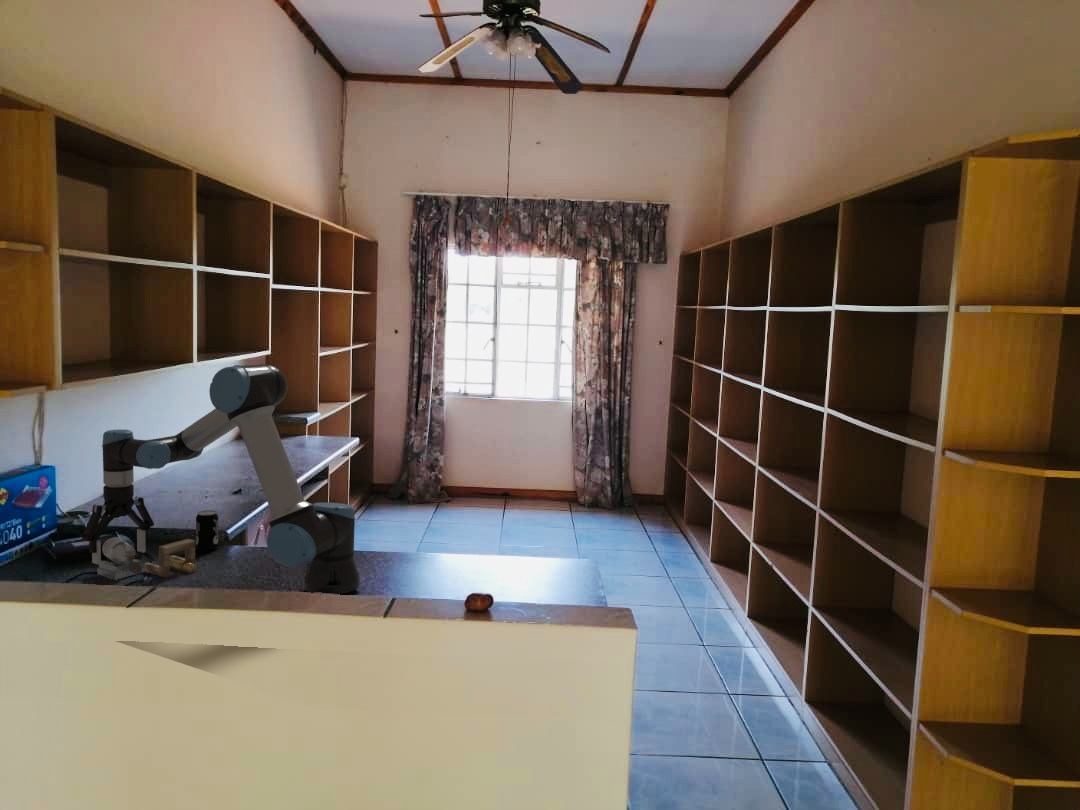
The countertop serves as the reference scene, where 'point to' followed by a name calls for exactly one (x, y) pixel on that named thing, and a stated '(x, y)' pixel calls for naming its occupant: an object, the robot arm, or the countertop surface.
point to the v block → (119, 569)
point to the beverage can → (207, 530)
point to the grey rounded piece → (118, 551)
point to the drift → (182, 566)
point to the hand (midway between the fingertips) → (119, 557)
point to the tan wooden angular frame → (164, 557)
